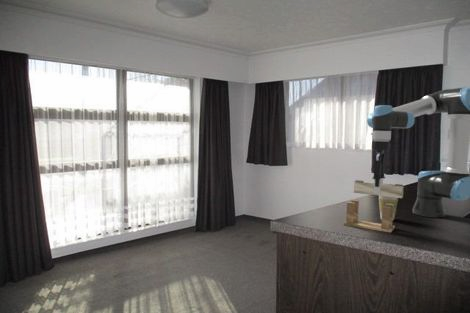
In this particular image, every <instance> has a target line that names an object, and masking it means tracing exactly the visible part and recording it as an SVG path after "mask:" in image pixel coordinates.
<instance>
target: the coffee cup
mask: <svg viewBox="0 0 470 313" xmlns="http://www.w3.org/2000/svg"><path fill="white" fill-rule="evenodd" d="M398 199H399V198H395V197H387V196H378V208H379V215H380V216H379V217H380V220H382V207H383V206H385V204H393V221H394V220H395V218H396V217H395V216H396V212H397V208H398V207H397V206H398V202H399V200H398Z"/></svg>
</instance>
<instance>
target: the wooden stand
mask: <svg viewBox="0 0 470 313" xmlns="http://www.w3.org/2000/svg"><path fill="white" fill-rule="evenodd" d="M359 202H360V201H359V200H357V199H351V201H347V203H346V220H345V222H343V226H346V225H347V226H346V227H353V228H359V229H360V228H361V229H365V230H372V231H379V232H385V233H392V232H393V231H394V229H395V225H393V221H394V220H393V204H385V206H383V207H382V219H381V222H380V223H379V222H370V221H364V220H359Z"/></svg>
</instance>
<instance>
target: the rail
mask: <svg viewBox="0 0 470 313" xmlns="http://www.w3.org/2000/svg"><path fill="white" fill-rule="evenodd" d="M404 188H405V186H404V185H403V184H399V183H395V184H391V183H384V182H383V183H381V191H380V194H374V181H372V182H371V181H370V182H369V181H365V180H362V179H360V180H359V179H356V180H354V183H353V193H355V194H363V195H371V196H378V197H379V196H387V197H395V198H398V199H403V198H404Z"/></svg>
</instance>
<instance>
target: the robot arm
mask: <svg viewBox="0 0 470 313" xmlns="http://www.w3.org/2000/svg"><path fill="white" fill-rule="evenodd" d="M373 109H374V110H373V112H372V113H370V114H369V115H368V116H367V117H366V123H367V126H368V127H370V128H371V129H372V132H371V134H370V135H372V138H371V139H372V140H373V141H372V142H371V149H372V150H376V153H375V154H374V164H373V176H372V180H374V181H373V183H374V194H380V191H381V183H383V184H384V179H386V176H385V168H386V166H385V165H386V156H387V155H386V153H385V151H390V149H391V138H392V129H409V128H412V127H413V126H414V124H415V120H416V119H415V118H416V117H420V116H423V115H432V114H439V113H441V114H442V113H445V114H447V116H448V118H449V119H450V125H449V135H448V143H447V154H446V155H447V156H446V164H445V165H446V166H445V168H444V169H443V170H424V171H420V172H419V173H418V178H417V190H416V191H417V192H416V193H417V196H416V200H415V202H414V205H413V206H412V213H413V214H414V215H418V216H421V217H427V218H445V217H446V210H445V206H444V203H443V198H446V199H449V200H450V199H451V200H453V201H460V202H461V201H466V200H468V199H469V198H470V171H468V160H469V159H468V158H469V149H470V147H469V146H470V86H468V87H467V86H463V87H456V88H447V89H443V90H439V91H436V92H434V93H431V94H427V95H425V96H423V97H422V98H420V99H418V100H414V101H412V102H411V101H410V102H408V103H406V104H405V103H404V104H402V105H399V106H396V107H393V106H392V105H387V104H385V105H384V104H380V105H375V106H374V108H373Z"/></svg>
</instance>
